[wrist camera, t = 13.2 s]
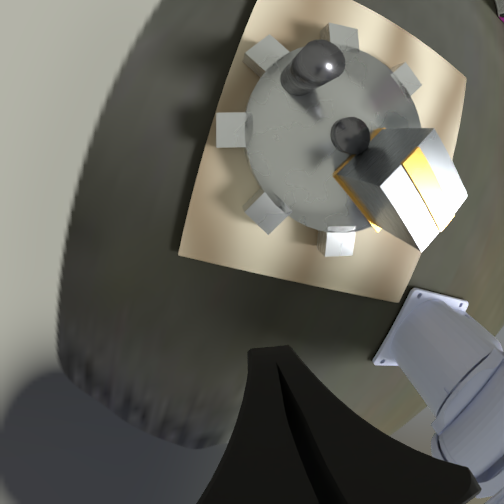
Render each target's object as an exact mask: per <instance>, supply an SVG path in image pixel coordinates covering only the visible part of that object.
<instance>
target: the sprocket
mask: <svg viewBox="0 0 504 504" xmlns="http://www.w3.org/2000/svg"><path fill="white" fill-rule="evenodd" d="M320 38H321V40H313V41H310V42H309V43H307V44H306V45H305V46H304V47H301V48H298V49H296V50H293V51H291V52H289V51H288V50H287V49H286V48H285V47H284V46H283V45H281V44H280V43H279V42H278V41H277V40H276V39H275V38H274V37H272V36H271V35H270V34H269V35H268V36H266V37H265V38H264V39H262V40H261V41H260V42H258V43H257V44H256V45H254V46H253V47H252V48H250V49H249V50H248V51H247V52H245V54H244V57H243V62H244V63H245V64H246V65H247V66H248V67H249V68H251V69H252V70H253V71H254V72H255V73H256V74H257V75H258V76H259V77H260V79H259V81H258V82H257V84H256V86H255V88H254V89H253V91H252V93H251V95H250V97H249V100H248V102H247V105H246V108H245V112H227V113H216V148H244V151H245V156H246V159H247V162H248V165H249V168H250V170H251V172H252V174H253V176H254V178H255V180H256V182H257V183H258V185H259V186H260V189H259V190H258V191H257V192H256V193H255V194H254V195H253V196H252V197H251V198H250V199H249V200H248V201H247V202H246V203H245V204H244V205H243V206H242V208H243V210H244V212H245V213H246V214H247V215H248V216H249V217H250V218H251V219H252V220H253V221H254V222H255V223H256V224H257V225H258V226H259V227H260V228H261V229H263V230H264V231H265V232H266V233H267V234H268V235H269V234H270V233H271V232H272V231H273V230H274V229H275V228H276V227H277V226H278V225H279V224H280V223H281V222H282V221H283V220H284V219H285V218H286V217H287V216H290V217H291V218H293V219H294V220H295V221H297V222H299V223H301V224H303V225H305V226H307V227H310V228H313V229H316V230H318V239H317V249H318V250H319V251H320V252H321V253H322V254H323V255H324V256H325V257H332V256H353V248H354V240H355V232H356V231H360V230H364V229H367V228H370V227H373V229H374V230H375V231H376V232H377V233H378V232H379V231H380V230H381V228H380V227H378V226H376V225H375V224H374V222H373V221H372V219H371V218H370V217H369V215H368V214H367V213H366V211H365V210H364V209H363V207H362V206H361V205H360V203H359V202H358V201H357V200H356V198H355V197H354V196H353V194H352V193H351V192H350V191H349V189H348V188H347V187H346V186H345V184H344V183H343V182H342V181H341V179H340V178H339V177H338V176H337V175H336V174H337V173H338V172H339V171H340V170H341V169H342V168H343V167H344V166H345V165H346V164H347V163H348V162H349V161H350V160H351V159H352V158H353V157H354V156H355V155H356V154H360V153H362V152H364V151H365V150H366V149H367V147H368V145H369V143H370V141H371V140H372V139H373V138H374V137H375V136H376V135H377V134H378V133H379V132H380V131H381V130H382V129H396V128H421V123H420V119H419V115H418V112H417V109H416V107H415V104H414V102H413V100H412V98H411V95H412V94H413V93H415V92H416V91H417V90H418V89H419V88H420V87H421V86H422V84H421V83H420V81H419V80H418V78H417V77H416V75H415V74H414V73H413V71H412V70H411V68H410V67H409V66H408V64H407V63H406V62H404V63H401V64H398V65H396V66H393V67H392V68H391V69H389V68H388V67H387V66H386V65H385V64H383V63H382V62H381V61H379V60H378V59H376V58H375V57H373V56H371V55H370V54H368V53H366V52H363V51H361V50H359V39H358V29H355V28H351V27H347V26H343V25H338V24H334V23H328V24H327V25H326V26H325V27H324V28H323V29H322V30H321V31H320Z"/></svg>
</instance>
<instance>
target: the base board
mask: <svg viewBox="0 0 504 504" xmlns="http://www.w3.org/2000/svg"><path fill="white" fill-rule="evenodd" d="M328 23H334V24H338V25H343V26H347V27H351V28H355V29H358V39H359V50H361V51H363V52H366V53H368V54H370V55H371V56H373V57H375V58H376V59H378V60H379V61H381V62H382V63H383V64H385V65H386V66H387V67H388V68H389V69H391V68H392V67H393V66H396V65H398V64H401V63H404V62H406V63H407V64H408V66H409V67H410V68H411V70H412V71H413V73H414V74H415V75H416V77H417V78H418V80H419V81H420V83H421V84H422V86H421V87H420V88H419V89H418V90H417V91H416V92H415V93H413V94H412V95H411V98H412V100H413V102H414V104H415V107H416V109H417V112H418V115H419V119H420V123H421V128H435V130H436V132H437V134H438V135H439V137H440V139H441V141H442V143H443V145H444V146H445V148H446V150H447V152H448V154H449V156H450V158H451V160H452V158H453V154H454V149H455V145H456V140H457V136H458V131H459V126H460V120H461V114H462V108H463V102H464V95H465V87H466V77H465V76H463V75H462V74H461V73H460V72H459V71H458V70H457V69H456V68H454V67H453V66H452V65H451V64H450V63H448V62H447V61H446V60H445V59H444V58H442V57H441V56H440V55H439V54H437V53H436V52H435V51H433V50H432V49H431V48H429V47H428V46H427V45H425V44H424V43H423V42H421V41H420V40H418V39H417V38H416V37H414V36H413V35H411V34H410V33H408V32H407V31H405V30H404V29H402V28H401V27H399V26H397V25H396V24H394V23H393V22H391V21H389V20H388V19H386V18H384V17H383V16H381V15H379V14H377V13H376V12H374V11H372V10H370V9H368V8H366V7H364V6H362V5H361V4H359V3H357V2H355V1H353V0H257V2H256V4H255V6H254V9H253V11H252V14H251V16H250V18H249V21H248V23H247V26H246V28H245V31H244V33H243V36H242V38H241V41H240V44H239V46H238V49H237V52H236V54H235V57H234V60H233V62H232V65H231V68H230V71H229V74H228V76H227V79H226V82H225V85H224V88H223V91H222V94H221V97H220V100H219V103H218V106H217V109H216V112H215V116H214V119H213V122H212V125H211V129H210V132H209V135H208V139H207V142H206V145H205V149H204V152H203V156H202V159H201V163H200V167H199V170H198V174H197V178H196V182H195V185H194V189H193V193H192V197H191V201H190V205H189V209H188V213H187V217H186V222H185V226H184V230H183V235H182V239H181V244H180V248H179V253H178V255H180V256H184V257H188V258H192V259H196V260H201V261H205V262H209V263H213V264H218V265H222V266H226V267H231V268H235V269H240V270H244V271H248V272H253V273H257V274H262V275H266V276H271V277H275V278H280V279H284V280H289V281H294V282H298V283H303V284H308V285H312V286H317V287H322V288H326V289H331V290H336V291H341V292H346V293H351V294H355V295H360V296H365V297H370V298H375V299H380V300H385V301H390V302H395V303H399V301H400V299H401V297H402V295H403V293H404V291H405V289H406V287H407V285H408V282H409V280H410V278H411V276H412V274H413V271H414V269H415V267H416V264H417V262H418V260H419V257H420V255H421V253H422V252H421V251H419V250H417V249H416V248H414V247H412V246H411V245H409V244H407V243H406V242H404V241H402V240H401V239H399V238H397V237H395V236H394V235H392V234H390V233H388V232H387V231H385V230H383V229H381V230H380V231H379V232H378V233H377V232H376V231H375V230H374V229H373V227H370V228H367V229H364V230H360V231H356V232H355V240H354V248H353V256H332V257H325V256H324V255H323V254H322V253H321V252H320V251H319V250H318V249H317V239H318V230H316V229H313V228H310V227H307V226H305V225H303V224H301V223H299V222H297V221H295V220H294V219H293V218H291V217H290V216H287V217H286V218H285V219H284V220H283V221H282V222H281V223H280V224H279V225H278V226H277V227H276V228H275V229H274V230H273V231H272V232H271V233H270V234H269V235H268V234H267V233H266V232H265V231H264V230H263V229H261V228H260V227H259V226H258V225H257V224H256V223H255V222H254V221H253V220H252V219H251V218H250V217H249V216H248V215H247V214H246V213H245V212H244V210H243V208H242V206H243V205H244V204H245V203H246V202H247V201H248V200H249V199H250V198H251V197H252V196H253V195H254V194H255V193H256V192H257V191H258V190H259V189H260V186H259V185H258V183H257V182H256V180H255V178H254V176H253V174H252V172H251V170H250V168H249V165H248V162H247V159H246V156H245V151H244V148H216V113H227V112H245V108H246V105H247V102H248V100H249V97H250V95H251V93H252V91H253V89H254V88H255V86H256V84H257V82H258V81H259V79H260V77H259V76H258V75H257V74H256V73H255V72H254V71H253V70H252V69H251V68H249V67H248V66H247V65H246V64H245V63H244V62H243V57H244V54H245V52H247V51H248V50H249V49H250V48H252V47H253V46H254V45H256V44H257V43H258V42H260V41H261V40H262V39H264V38H265V37H266V36H268V35H269V34H270V35H271V36H272V37H274V38H275V39H276V40H277V41H278V42H279V43H280V44H281V45H283V46H284V47H285V48H286V49H287V50H288V51H289V52H291V51H293V50H296V49H298V48H301V47H304V46H305V45H306V44H307V43H309V42H310V41H313V40H321V38H320V31H321V30H322V29H323V28H324V27H325V26H326V25H327V24H328Z"/></svg>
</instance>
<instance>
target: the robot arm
mask: <svg viewBox="0 0 504 504" xmlns="http://www.w3.org/2000/svg"><path fill="white" fill-rule="evenodd" d="M418 294H419V295H418ZM417 295H418V296H417ZM467 307H468V302H467V301H466V300H462V299H458V298H455V297H451V296H447V295H443V294H439V293H435V292H431V291H427V290H423V289H419V288H413V289H412V290H411V291H410V292H409V294H408V297H407V299H406V301H405V303H404V305H403V307H402V309H401V310H400V312H399V314H398V316H397V318H396V320H395V322H394V324H393V326H392V327H391V329H390V331H389V333H388V335H387V336H386V338H385V340H384V342H383V343H382V345H381V347H380V348H379V350H378V352H377V353H376V355H375V357H374V358H373V360H372V362H373V363H374V365H391V366H399V367H400V368H401V369H402V371H403V372H404V373H405V375H406V376H407V378H408V379H409V380H410V382H411V383H412V384H413V386H414V387H415V389H416V390H417V391H418V393H419V394H420V396H421V397H422V398H423V400H424V401H425V403H426V404H427V406H428V407H429V408H430V410H431V411H432V413H433V414H434V416H435V417H436V419H435V420H434V421H433V422H432V423H431V426H432V427H433V429H434V430H435V431H436V433H435V434H434V435H433V437H432V440H431V452H432V456H429V455H426V454H424V453H421V452H419V451H417V450H414V449H412V448H411V447H409V446H407V445H405V444H403V443H401V442H399V441H397V440H395V439H393V438H391V437H390V436H388V435H386V434H385V433H383V432H382V431H380V430H378V429H377V428H375V427H374V426H372V425H371V424H369V423H368V422H367V421H365V420H364V419H362V418H361V417H360V416H358V415H357V414H356V413H355V412H353V411H352V410H351V409H350V408H348V407H347V406H346V405H345V404H344V403H343V402H342V401H340V400H339V399H338V398H337V397H336V396H335V395H334V394H333V393H332V392H331V391H330V390H329V389H328V388H327V387H326V386H325V385H324V384H323V383H322V382H321V381H320V380H319V379H318V378H317V377H316V376H315V375H314V374H313V373H312V372H311V371H310V369H309V368H308V367H307V366H306V365H305V364H304V362H303V361H302V360H301V359H300V358H299V356H298V355H297V354H296V353H295V351H294V350H293V349H292V348H291V347H290V346H289V345H286V346H276V347H266V348H254V349H250V350H249V351H248V376H247V382H246V387H245V392H244V397H243V401H242V405H241V408H240V411H239V415H238V418H237V422H236V425H235V427H234V430H233V433H232V436H231V438H230V441H229V443H228V445H227V448H226V450H225V453H224V455H223V457H222V459H221V461H220V463H219V465H218V467H217V469H216V471H215V473H214V475H213V477H212V479H211V481H210V482H209V484H208V486H207V488H206V489H205V491H204V492H203V494H202V496H201V497H200V499H199V501H198V502H197V504H466V503H467V502H468V501H470V500H471V499H473V498H474V497H476V498H484V497H490V496H493V497H491V498H490V499H489V500H488V501H487V502H485V503H484V504H504V352H503V349H502V347H501V344H500V342H499V341H498V340H497V339H496V338H495V337H494V336H493V335H492V334H491V333H490V332H489V331H487V330H486V329H485V328H484V327H483V326H482V325H480V324H479V323H478V322H477V321H476V320H475V319H473V318H472V317H471V316H470V315H469V314H467V313H466V312H465V311H466V309H467Z"/></svg>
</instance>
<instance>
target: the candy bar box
mask: <svg viewBox="0 0 504 504" xmlns="http://www.w3.org/2000/svg"><path fill="white" fill-rule="evenodd" d="M494 2H495V5H496V9H497V13H498V17H499V18H500V19H501V20H502V21H503V22H504V0H494Z"/></svg>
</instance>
